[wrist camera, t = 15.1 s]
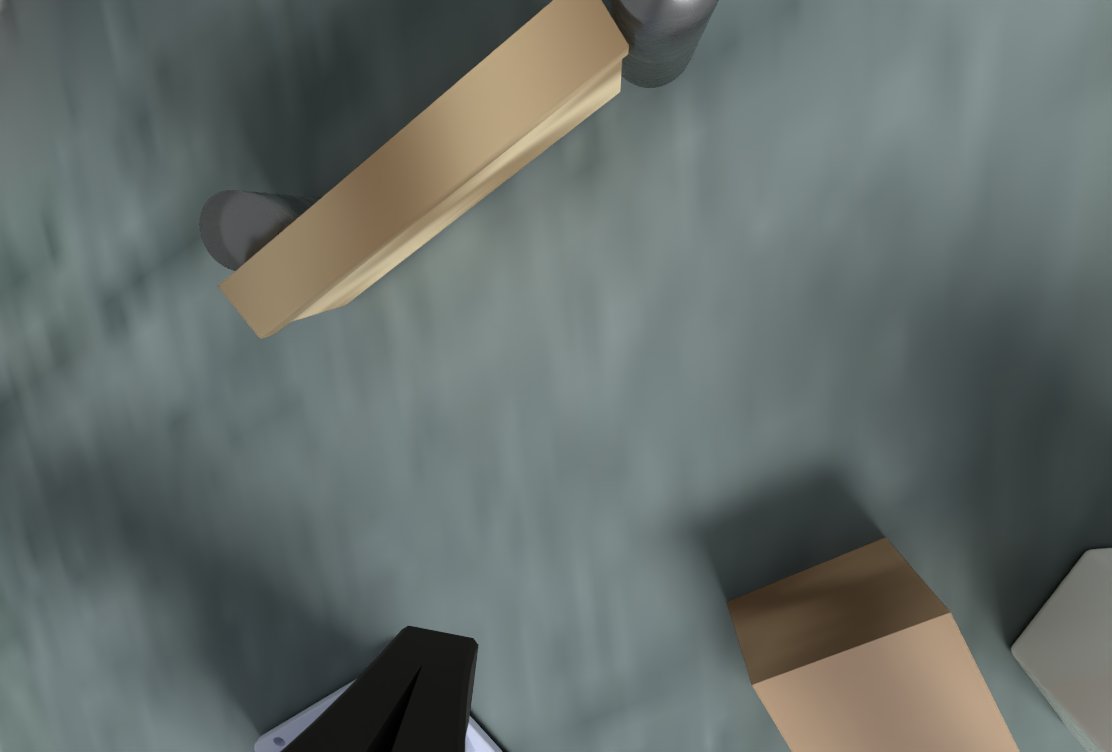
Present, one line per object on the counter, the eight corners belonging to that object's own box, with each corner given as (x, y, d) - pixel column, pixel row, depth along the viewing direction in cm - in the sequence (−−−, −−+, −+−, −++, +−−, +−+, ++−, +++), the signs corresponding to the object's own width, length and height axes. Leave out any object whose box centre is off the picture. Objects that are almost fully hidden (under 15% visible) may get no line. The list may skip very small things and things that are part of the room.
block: (793, 713, 22) (833, 820, 18) (725, 598, 20) (752, 685, 17) (946, 660, 20) (1025, 763, 16) (882, 534, 19) (951, 612, 15)
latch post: (324, 272, 18) (238, 287, 14) (284, 223, 18) (184, 223, 14) (366, 236, 18) (290, 240, 14) (326, 185, 17) (235, 173, 13)
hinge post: (641, 106, 16) (656, 47, 11) (594, 33, 16) (584, -64, 10) (711, 49, 15) (764, -43, 10) (663, -28, 15) (692, -165, 10)
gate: (593, 48, 15) (585, -28, 11) (623, 98, 16) (628, 45, 11) (318, 270, 18) (218, 286, 13) (349, 309, 18) (260, 338, 14)
